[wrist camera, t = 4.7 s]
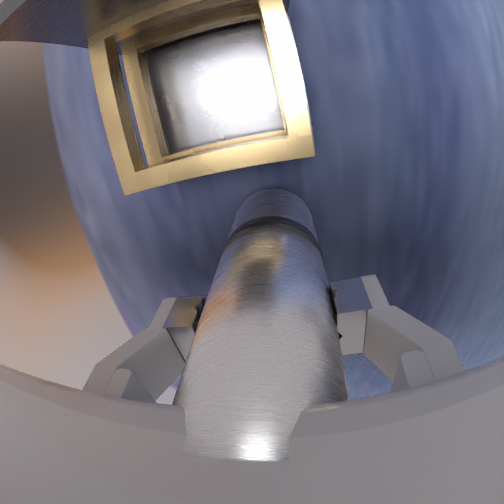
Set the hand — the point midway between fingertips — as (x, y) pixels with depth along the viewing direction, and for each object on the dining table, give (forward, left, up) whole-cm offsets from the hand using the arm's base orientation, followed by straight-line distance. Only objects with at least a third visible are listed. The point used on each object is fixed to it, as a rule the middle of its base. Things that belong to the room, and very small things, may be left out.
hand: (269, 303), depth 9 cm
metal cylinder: (0, 0, -6) cm, 6 cm away
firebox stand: (+6, -6, -9) cm, 12 cm away
